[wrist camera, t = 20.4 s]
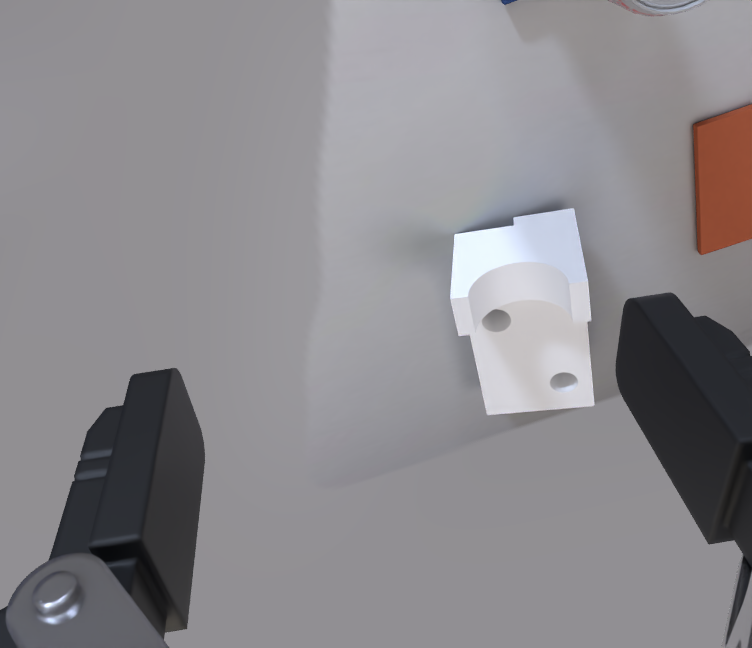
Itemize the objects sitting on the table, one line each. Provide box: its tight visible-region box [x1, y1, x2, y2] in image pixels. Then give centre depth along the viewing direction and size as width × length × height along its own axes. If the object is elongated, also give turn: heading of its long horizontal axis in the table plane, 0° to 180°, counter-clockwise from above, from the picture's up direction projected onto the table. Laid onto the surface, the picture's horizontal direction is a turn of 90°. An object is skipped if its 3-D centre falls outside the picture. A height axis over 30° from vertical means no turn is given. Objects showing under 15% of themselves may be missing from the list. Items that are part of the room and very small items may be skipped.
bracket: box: [450, 208, 594, 415], centre depth 43 cm, size 13×7×8 cm, turn 15°
